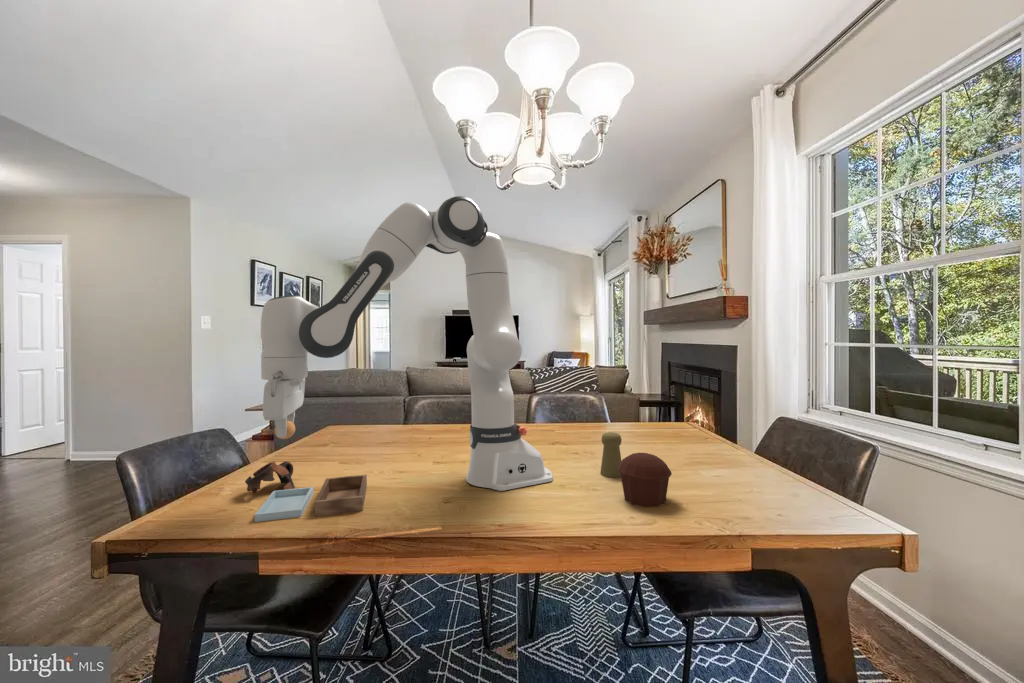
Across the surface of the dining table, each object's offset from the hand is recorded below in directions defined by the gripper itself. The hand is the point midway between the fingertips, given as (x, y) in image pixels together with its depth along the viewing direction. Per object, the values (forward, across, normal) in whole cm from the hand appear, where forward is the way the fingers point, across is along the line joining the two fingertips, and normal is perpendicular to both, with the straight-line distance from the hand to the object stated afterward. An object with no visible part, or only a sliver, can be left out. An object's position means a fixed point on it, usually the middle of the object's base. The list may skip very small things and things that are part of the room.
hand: (285, 433), depth 91 cm
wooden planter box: (+16, 0, -12) cm, 20 cm away
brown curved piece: (+17, +13, +5) cm, 22 cm away
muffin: (+16, -19, -77) cm, 81 cm away
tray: (+16, 0, 0) cm, 16 cm away
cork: (+16, -1, -79) cm, 80 cm away
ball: (+1, 0, 0) cm, 1 cm away
